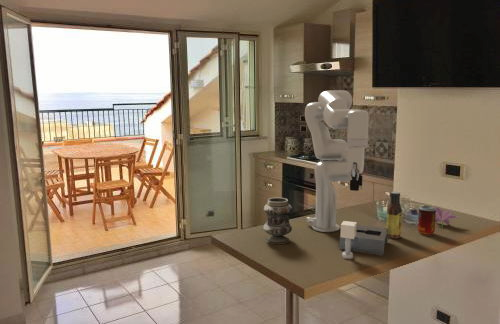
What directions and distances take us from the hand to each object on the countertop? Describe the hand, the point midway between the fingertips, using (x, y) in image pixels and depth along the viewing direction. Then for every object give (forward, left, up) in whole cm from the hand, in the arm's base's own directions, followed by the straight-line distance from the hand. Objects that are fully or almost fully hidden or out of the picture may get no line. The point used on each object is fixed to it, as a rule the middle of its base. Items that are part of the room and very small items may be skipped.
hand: (356, 187), depth 164 cm
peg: (-2, -4, -27) cm, 27 cm away
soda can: (+25, +37, -27) cm, 52 cm away
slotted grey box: (+2, +11, -27) cm, 29 cm away
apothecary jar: (-33, +3, -27) cm, 42 cm away
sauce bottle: (+12, +27, -27) cm, 40 cm away
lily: (+32, +52, -27) cm, 67 cm away
